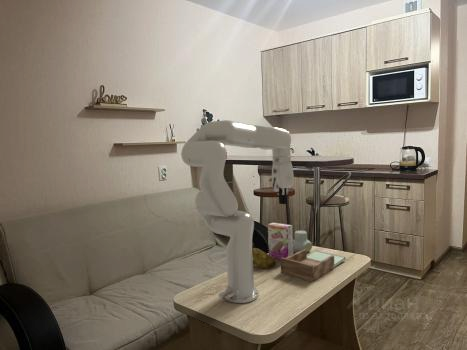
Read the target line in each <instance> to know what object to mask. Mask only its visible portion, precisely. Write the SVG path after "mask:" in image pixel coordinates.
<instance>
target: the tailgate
mask: <svg viewBox="0 0 467 350" xmlns="http://www.w3.org/2000/svg"><path fill="white" fill-rule="evenodd" d="M331 255H333V256H334V268H335V267H337V266H338V265H339V264H342V263H343V262H344V261H345V260H346V256H342V255H338V254H334V253H330V252H329V253H328V252H324V251H319V250H316V251H314V252H312V253H310V254H309V255H307V258H308V259H313V260H317V261H322V260H324V259H326V258H327V257H329V256H331Z"/></svg>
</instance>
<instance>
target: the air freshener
mask: <svg viewBox="0 0 467 350" xmlns="http://www.w3.org/2000/svg"><path fill="white" fill-rule="evenodd" d="M307 235H308V233H307V231H306V230H295V232H294V239H293V253H294V252H295V253H297V252H299V251H301V250H304V249H306V250H307V253H308V252H310V251H311V250H312V247H313V243H312V242H311V241H310V240H309V239H308V236H307Z"/></svg>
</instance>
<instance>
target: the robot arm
mask: <svg viewBox="0 0 467 350" xmlns="http://www.w3.org/2000/svg"><path fill="white" fill-rule="evenodd" d="M291 143H292V136H291V134H290V131H287V130H286V129H284V128H279V127H274V126H273V127H272V126H265V125H263V126H262V125H257V124H256V125H255V124H248V123H243V122H238V121H234V120H226V119H225V120H216V121H215V120H214V121H208V122H207V123H204V125H202V126H201V127H200V128H199V129H198V130H197V131H196V132H195V133H194V134H193V135H192V136H191V137H190V138H189V139H188V140H187V141H186V142H185V143H184V145H182V146H183V147H182V148H181V153H180V155H181V159H182V161H183V163H185V165H187V166H189V167H201V169H202V170H201V172H200V176H199V177H200V178H199V188H200V190H199V191H198V192H197V194H196V195H195V200H194V202H195V203H194V205H195V209H196V211H197V213H198V214H199V216H200V217H201V218H202V220H203V221H204V222H205V224H206V225H207V227H208V228H209V229H210V230H211V231H212V232H213V233H215V234H217V235H221V236H226V237H230V238H229V241H228V242H227V244H226V248H225V255H226V268H227V269H226V271H227V272H226V273H227V285H226V286H225V289H224V291H222V292H220V293H218V298H219V299H226V301H228V302H231V303H233V304H246V303H250V302H251V303H252V302H253V301H255V300H257V299H258V297H259V294H260V293H259V290H258V289H257V288H256V287H255V280H254V279H255V278H254V277H255V276H254V264H253V255H252V248H253V235H254V228H255V221H254V218H253V216H252V215H251V214H249V213H248V212H246V211H243V210H238V209H239V203H238V200H237V197H236V196H235V194H234V192H233V191H232V189H231V188H230V186H229V184H228V183H227V181H226V179H225V176H224V171H225V165H226V164H225V163H226V162H227V161H226V160H227V156H228V152H227V148H226V146H231V147H238V148H239V147H240V148H245V149H256V148H257V149H258V148H259V149H261V150H269V151H270V150H272V166H271V167H272V169H271V186H272V188H273V192H276V193H277V195H278V204H280V205H286V204H288V195H289V190H290V189H292V187H294V185H295V178H294V177H295V176H294V169H293V165H292V159H291V157H292V156H291V152H292V151H291Z"/></svg>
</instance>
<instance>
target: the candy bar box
mask: <svg viewBox="0 0 467 350" xmlns="http://www.w3.org/2000/svg"><path fill="white" fill-rule="evenodd" d="M293 233H294V232H293V225H291V224H285V223H279V222H271V223H268V224H267V240H268V241H267V242H268V243H267V244H268V254H269V255H270V256H272V257H273V258H274V259H275V260H279V261H281V260H280V258H281V257H283V258H286V257H289V256H291V255H293V254H294V251H293V240H294V237H293V235H294V234H293Z"/></svg>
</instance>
